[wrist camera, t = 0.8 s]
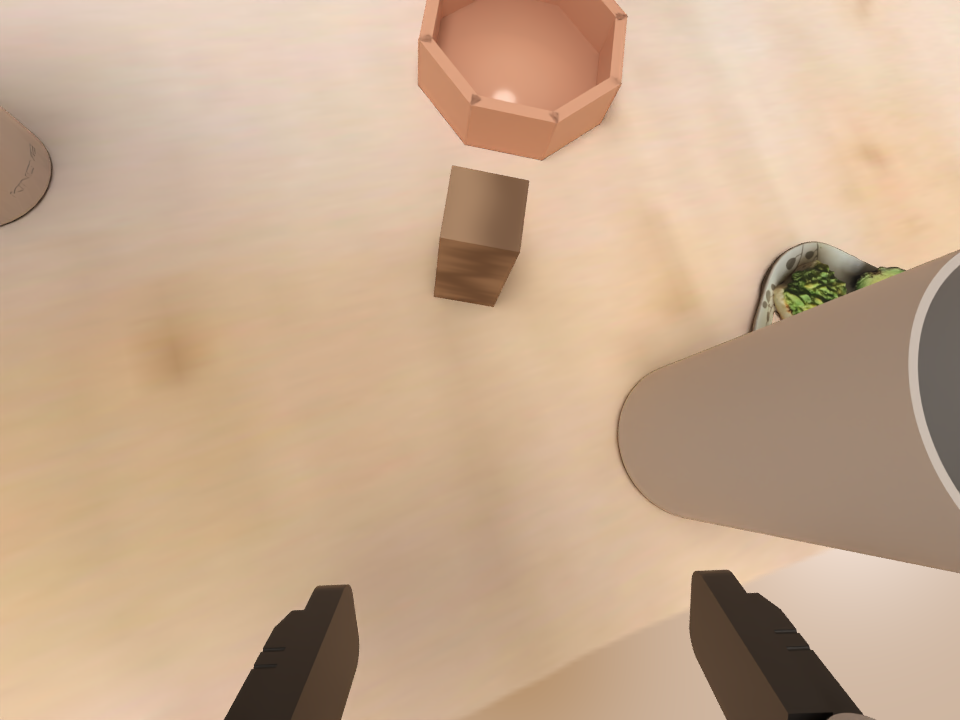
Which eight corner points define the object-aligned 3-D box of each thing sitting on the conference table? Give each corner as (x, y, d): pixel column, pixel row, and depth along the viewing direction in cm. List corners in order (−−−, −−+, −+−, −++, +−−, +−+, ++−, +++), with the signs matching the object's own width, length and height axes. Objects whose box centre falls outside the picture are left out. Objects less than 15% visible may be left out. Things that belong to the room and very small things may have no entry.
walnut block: (433, 296, 41) (439, 237, 30) (443, 241, 42) (452, 165, 31) (493, 306, 41) (519, 252, 31) (501, 251, 43) (529, 180, 32)
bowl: (408, 133, 44) (407, 92, 39) (438, -22, 48) (441, -77, 43) (595, 171, 45) (617, 136, 40) (610, 18, 49) (631, -31, 44)
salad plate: (895, 504, 43) (952, 509, 38) (711, 414, 42) (746, 408, 38) (940, 312, 47) (996, 296, 43) (774, 229, 47) (812, 204, 42)
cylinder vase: (689, 552, 39) (1131, 694, 15) (583, 431, 40) (837, 382, 16) (785, 446, 42) (1287, 423, 18) (684, 336, 43) (1030, 171, 19)
